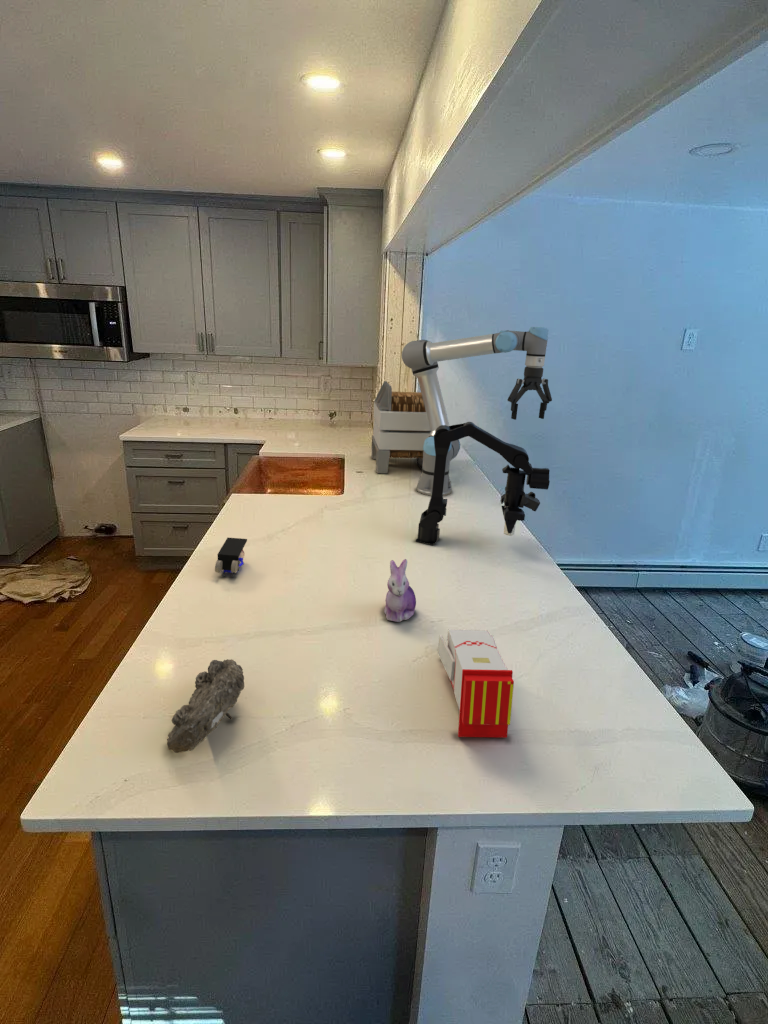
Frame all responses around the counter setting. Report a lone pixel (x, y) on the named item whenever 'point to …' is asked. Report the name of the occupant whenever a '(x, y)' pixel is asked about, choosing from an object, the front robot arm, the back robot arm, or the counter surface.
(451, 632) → the toy
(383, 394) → the grey crate
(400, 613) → the figurine
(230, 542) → the black toy vehicle
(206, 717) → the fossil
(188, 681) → the counter surface
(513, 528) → the beige cylinder
